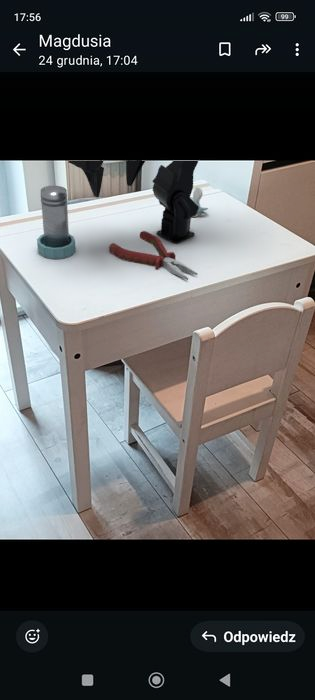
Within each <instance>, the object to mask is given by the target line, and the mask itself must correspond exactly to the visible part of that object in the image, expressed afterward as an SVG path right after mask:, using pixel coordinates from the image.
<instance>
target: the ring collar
mask: <svg viewBox="0 0 315 700" xmlns="http://www.w3.org/2000/svg"><path fill="white" fill-rule="evenodd" d="M36 243H37V244H36V246H37V252H38V254H39V255H40V256H41V257H43V258H46V259H48V260H49V259H50V260H61V259H66V258H68V257H71V256H72V255H73V254H74V253H75V251H76V239H75V236H73V234H70V233H69V245H67V246H64V247H58V248H52V247H46V246H45V242H44V233H43V234H41V235H39V237H38V238H37V239H36Z"/></svg>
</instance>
